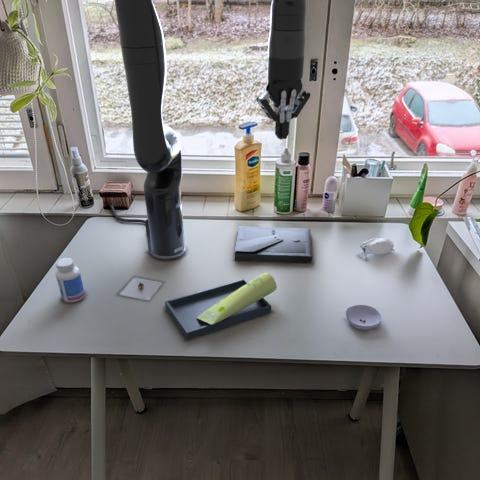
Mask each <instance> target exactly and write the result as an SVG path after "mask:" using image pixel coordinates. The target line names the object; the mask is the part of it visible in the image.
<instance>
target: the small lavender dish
mask: <svg viewBox="0 0 480 480" xmlns="http://www.w3.org/2000/svg"><path fill="white" fill-rule="evenodd" d="M345 319H346V321H347V322H348V324H349V325H350V326H352V327H353V328H356V329H359V330H363V331H364V330H371V329H375V328H377V327H379V326H380V324H381V323H382V319H383V318H382V314H381V313H380V312H379V310H377V308H374V307H373V306H370V305H367V304H357V305H356V304H355V305H353V306H350V307H348V308H347V309H346V311H345Z"/></svg>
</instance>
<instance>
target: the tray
mask: <svg viewBox="0 0 480 480" xmlns="http://www.w3.org/2000/svg"><path fill="white" fill-rule="evenodd" d="M249 282H250V281H248V280H247V279H246V278H245V277H244V278H241V279H237V280H233V281H230V282H227V283H223V284H219V285H216V286H212V287H210V288H206V289H203V290H199V291H195V292H192V293H188V294H186V295H182V296H179V297H178V296H177V297H175V298H171V299H168V300H165V301H164V307H165V309H166V312H167V313H168V314H169V315H170V316H171V318H172V320H173V321H174V322H175V324H176V326H177V327H178V328H179V330H180V331H181V333H182V334H183V336H184V337H185V339H186V340H190V339H194V338H197V337H201V336H204V335H206V334H210V333H213V332H216V331H218V330H221V329H224V328H227V327H231V326H234V325H237V324H240V323H243V322H247V321H249V320H253V319H255V318H258V317H262V316H265V315H267V314H271V313H272V305H271V304H270V303H269V302H268V300H267V299H265V297H264V298H262V299H260V300H258V301H257V302H255V303H253V304H251V305H250V306H248V307H246V308H244V309H242V310H241V311H239V312H237V313H235V314H233V315H231V316H229V317H227V318H225V319H224V320H222V321H220V322H217V323H215V324H212V325H211V324H209V323H207V322H204V321H202V320H199V319H197V317H198V316H199V315H201V314H202V313H203V312H205V311H206V310H207V309H209V308H210V307H212V306H213V305H215V304H216V303H218V302H219V301H221V300H222V299H224V298H225V297H227V296H228V295H230V294H231V293H233V292H234V291H236V290H238V289H239V288H241V287H242V286H244V285H246V284H247V283H249Z"/></svg>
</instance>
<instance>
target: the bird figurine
mask: <svg viewBox="0 0 480 480" xmlns="http://www.w3.org/2000/svg"><path fill="white" fill-rule="evenodd" d="M394 246H395V243H394V242H393V241H392V240H391V239H389V238H385V237H374V238H370V239H368V240H366V241H364V242H362V243H361V244H360V248H361V250H362V251H361V252H359V253H358V254H359V255H358V257H360V259H362V257H363V259H365V260H366V261H367V259H368V256H369V255H386V254H387V253H389V252H395V251H396V249H394Z"/></svg>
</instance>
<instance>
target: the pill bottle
mask: <svg viewBox="0 0 480 480" xmlns="http://www.w3.org/2000/svg"><path fill="white" fill-rule="evenodd" d="M55 266H56V269H57V270H56V271H55V277H56V281H57V285H58V289H59V292H60V296H61V298H62V300H63V301H64V302H66V303H76V302H79V301H81V300H82V299H84V297H85V295H86V294H85V288H84V284H83V279H82V275H81V272H80V268H78V267H77V266H76V264H75V261H74V259H73V258H70V257H63V258H60V259H58V260H56V262H55Z"/></svg>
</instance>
